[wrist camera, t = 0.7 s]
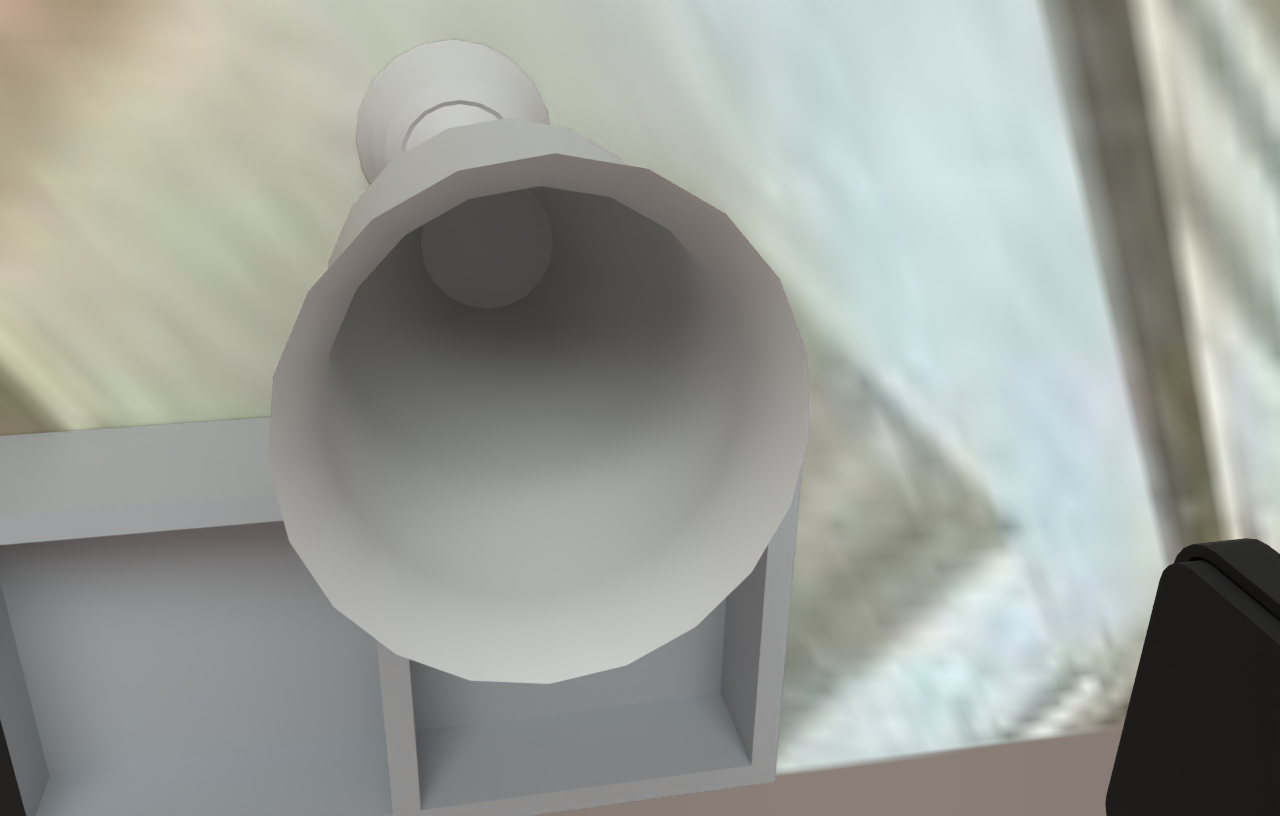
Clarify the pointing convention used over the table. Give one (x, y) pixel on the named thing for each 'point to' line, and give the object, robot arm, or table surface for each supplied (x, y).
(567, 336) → the chalice
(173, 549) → the holder
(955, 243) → the table surface
